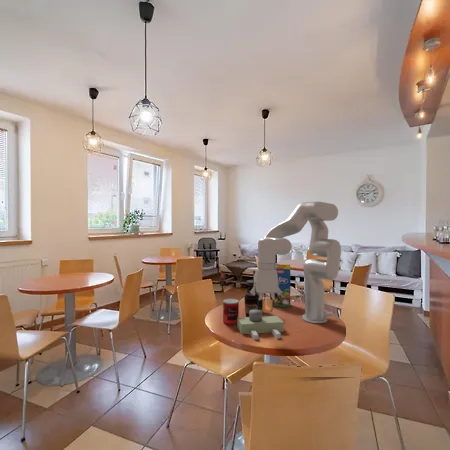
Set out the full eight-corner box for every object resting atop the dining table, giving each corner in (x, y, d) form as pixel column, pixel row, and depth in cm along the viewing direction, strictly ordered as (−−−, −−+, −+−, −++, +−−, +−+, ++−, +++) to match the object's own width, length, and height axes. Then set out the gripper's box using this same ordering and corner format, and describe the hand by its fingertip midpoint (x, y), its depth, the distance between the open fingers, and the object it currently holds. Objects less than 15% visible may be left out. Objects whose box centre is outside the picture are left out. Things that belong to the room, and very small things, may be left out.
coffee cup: (259, 322, 142) (259, 296, 142) (242, 320, 144) (243, 295, 144) (260, 316, 151) (260, 292, 151) (245, 315, 153) (245, 291, 153)
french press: (243, 312, 158) (243, 271, 158) (246, 307, 167) (246, 268, 167) (264, 314, 155) (264, 272, 155) (265, 309, 164) (266, 269, 164)
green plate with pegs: (277, 324, 139) (277, 307, 139) (289, 337, 123) (289, 318, 123) (237, 326, 136) (237, 309, 136) (244, 340, 120) (244, 320, 120)
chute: (267, 308, 126) (268, 296, 126) (272, 312, 120) (272, 300, 120) (259, 308, 125) (259, 297, 125) (263, 312, 119) (263, 300, 119)
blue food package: (270, 303, 176) (270, 263, 176) (289, 304, 174) (289, 264, 174) (269, 306, 170) (270, 265, 170) (290, 307, 168) (290, 265, 168)
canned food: (229, 318, 147) (229, 297, 147) (241, 322, 142) (241, 300, 142) (219, 322, 141) (220, 300, 141) (232, 326, 136) (232, 303, 136)
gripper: (281, 265, 128) (280, 305, 127) (245, 265, 125) (244, 306, 125) (288, 267, 120) (287, 310, 120) (249, 267, 118) (249, 311, 117)
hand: (265, 308), depth 122 cm, fingers closed on chute, 4 cm apart
